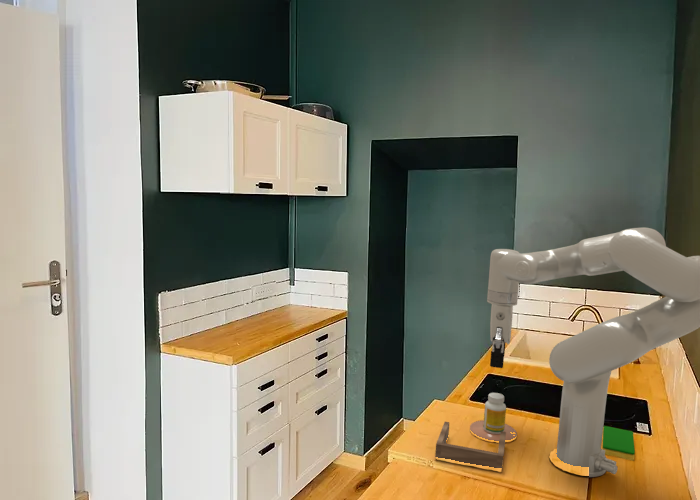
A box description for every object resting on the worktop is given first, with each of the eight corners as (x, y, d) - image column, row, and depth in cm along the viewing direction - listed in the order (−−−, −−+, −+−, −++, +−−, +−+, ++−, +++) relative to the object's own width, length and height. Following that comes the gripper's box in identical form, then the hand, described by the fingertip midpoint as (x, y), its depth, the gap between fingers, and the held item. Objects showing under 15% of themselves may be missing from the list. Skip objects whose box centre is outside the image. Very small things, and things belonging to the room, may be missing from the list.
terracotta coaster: (525, 435, 147) (525, 432, 147) (499, 448, 139) (500, 445, 139) (487, 419, 156) (487, 416, 156) (460, 430, 148) (460, 428, 148)
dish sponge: (632, 439, 148) (633, 431, 148) (633, 462, 136) (634, 453, 136) (602, 433, 151) (603, 425, 151) (601, 455, 139) (602, 446, 139)
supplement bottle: (479, 426, 149) (482, 392, 148) (497, 425, 151) (500, 390, 150) (489, 435, 144) (492, 400, 143) (508, 434, 146) (510, 398, 144)
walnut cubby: (501, 472, 127) (503, 456, 127) (435, 460, 132) (436, 444, 132) (504, 447, 140) (505, 431, 140) (443, 436, 145) (444, 421, 144)
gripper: (517, 305, 135) (511, 374, 137) (517, 292, 152) (512, 353, 154) (485, 302, 137) (480, 369, 140) (489, 289, 154) (484, 350, 156)
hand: (497, 361), depth 147 cm, fingers open, 9 cm apart
